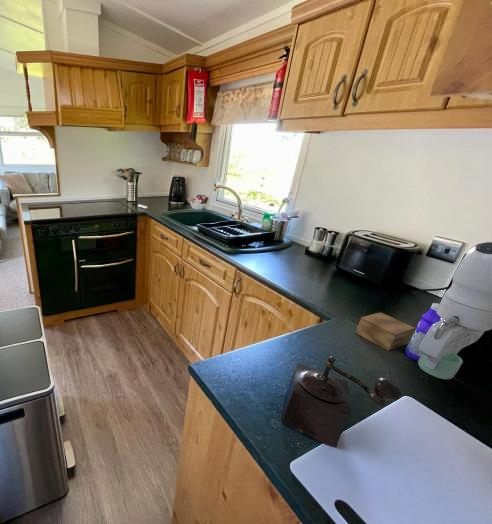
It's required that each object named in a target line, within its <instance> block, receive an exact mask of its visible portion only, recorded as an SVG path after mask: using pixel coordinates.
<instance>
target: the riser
mask: <svg viewBox="0 0 492 524" xmlns="http://www.w3.org/2000/svg"><path fill="white" fill-rule="evenodd" d="M415 328H416V327H414V326H412V325H409V324H407V323H405V322H403V321H401V320H398V319H397V318H394V317H392V316H390V315H388V314H385V313H383V312H381V311H380V312H375V313H372V314H369V315H364V316H362V317H360V320H359V322H358V325H357V327H356V329H355V333H354V334H357V335H359V336H361V337H362V338H363V339H366V340H368V341H369V342H371V343H373V344H374V345H377V346H379V347H381V348H382V349H384V350H385V351H387V352H388V351H393V350H394V349H397V348H400V347H402V346H405V345H408V344H409V342H410V340H411V338H412V336H413V334H414V332H415V330H416V329H415Z"/></svg>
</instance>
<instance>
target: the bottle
mask: <svg viewBox="0 0 492 524" xmlns="http://www.w3.org/2000/svg"><path fill="white" fill-rule="evenodd" d="M439 304H440V303H435V302H433V303H432V304H431V306H430V308H429V310H427V312H425V313H423V314H422V315H421V317H422V318H421V319H420V320H419V321H418V323H417V325H416V326H417V327H415V328H416V329H414V331H413V333H412V335H411V337H410V339H409V341H408V343H407V344H406V347H405V349H404V350H405V354H406V357H408V358H409V359H411V360H415V361H417V362H418V360H419V358H420V356H421V354H422V353H421V352H419V346H420V344H421V342H422V340H423V339H424V337H425V335H426V334H427V332H428V330H429V329H430V328H431V326H432V325H433V324H435V323H437V322H439V321H440V318H441V317H440V316H439V315H438V314H437V313H436V310H437V308H438V306H439Z"/></svg>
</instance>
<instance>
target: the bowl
mask: <svg viewBox="0 0 492 524" xmlns="http://www.w3.org/2000/svg"><path fill="white" fill-rule="evenodd" d="M426 360H427V356H426V355H424V354H423V353H422V354H421V356H420V358H419V360H418V361H417V364H418V367H419V368H420V369H421V370H422V371H424V372H425V373H426V374H428V375H430V376H432V377H435V378H437V379H441V380H451V379H453V378H455V376H456V375H457V373H458V372H459V370H460V368H461V367H462V365H463V363H464V361H463V358H461V357H460V356H459V355H458V354H454V353H451V354H449V355H447V356H445V357H443V358H441V359H440V360H439V362H440V363H439V365H438V367H437V368H435V369H431V368H429V367H427V366H426V365H425V362H426Z"/></svg>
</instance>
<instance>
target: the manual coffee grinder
mask: <svg viewBox="0 0 492 524" xmlns="http://www.w3.org/2000/svg"><path fill="white" fill-rule="evenodd" d="M335 362H336V358H335V357H334V356H332V355H331V356H328V357H327V360H326V361H325V368H324V371H321V370H318V369H315V368H312V367H310V366H307V365H304V364H302V363H299V362H297V363H296V365H295V368H294V370H293V373H292V376H291V379H290V382H289V384H288V387H287V390H286V392H285V395H284V401H283V407H282V413H281V418H280V420H281V423H282V424H283V425H285V426H287V427H289V428H290V429H292V430H294V431H296V432H299V433H300V434H302V435H304V436H306V437H308V438H309V439H310V438H311V439H313V440H315V441H318V442H320V443H323V444H325V445H328V446H330V447H334V448H338V443H339V441H340V438H341V436H342V433H343V432H344V430H345V427H346V425H347V424H348V421H349V419H350V417H351V413H352V409H351V407H352V406H351V394H350V388H349V387H350V386H349V382H348V381H347V380H344V379H341V378H339V377H336V376H333V375H332V374H330V372H331V370H333V371H334V372H336V373H337V374H339V375H340V376H342V377H345V378H346V379H348V380H350V381H351V382H353V383H355V384H356V385H358V386H360V387H361V388H362V390H364V391H365V393H367V395H368V397H369V398H370V400H371V401H372V402H374V403H375V404H376V405H378V406H381V407H385V406H386V404H387V402H389V401H398V400H399V399H401V397H402V390H401V388H400V386H398V385H397V383H395V382H394V381H393V380H391V379H389V378H387V377H384V376H382V377H378V378H376V379H375V380H374V389H373V390H372V389H371V388H370V387H369V385H367V384H366V383H365V382H364V381H362V380H361V379H359V378H357V377H356V376H354V375H352V374H350V373H348V372H347V371H345V370H343V369H341V368H340V367H338V366H336V365H335Z"/></svg>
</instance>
